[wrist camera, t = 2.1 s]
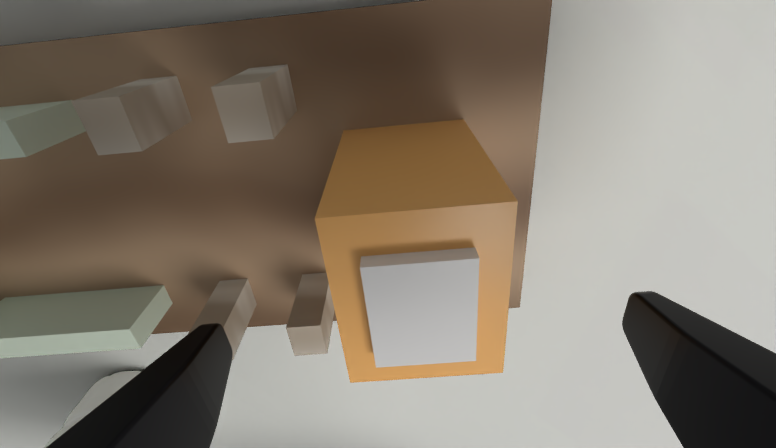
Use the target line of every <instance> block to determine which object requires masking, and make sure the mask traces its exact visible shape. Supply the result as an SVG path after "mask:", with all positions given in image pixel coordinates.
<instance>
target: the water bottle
mask: <svg viewBox="0 0 776 448" xmlns="http://www.w3.org/2000/svg"><path fill="white" fill-rule="evenodd" d="M140 372H141V371H123V372H118V373H115V374H113V375H111V376H105V377H103V378H101V379H100V380H98V381H97V382H96V383H95V384H94V385H93V386H92V387H91V388H90V389H89V390H88V392H87V393H86V394H85V396H84V397H83V398H82V400H81V401H80V402H79V404H78V405H77V406H76V407H75V408H74V409H73V410H72V412H71V413H70V414H69V416H68V417H67V419H66V421H65V423H64V425H63V427H62V429H61V430H60V431H59V432H57V433H56V434H55V435H54V436H53V437H52V439H51V440H50V441H49V442H48V443H47V445H46V446H45V447H44V448H46V447H47V446H48V445H50V444H51V443H52V442H53V441H55V440H56V439H57V438H58V437H60V436H61V435H62V434H63V433H65V432H66V431H67V430H68V429H70V428H71V427H72V426H74V425H75V424H76V423H77V422H79V421H80V420H81V419H82V418H84V417H85V416H86V415H87V414H89V413H90V412H91V411H92V410H94V409H95V408H96V407H97V406H99V405H100V404H101V403H102V402H104V401H105V400H106V399H108V398H109V397H110V396H111V395H113V394H114V393H115V392H116V391H118V390H119V389H120V388H121V387H123V386H124V385H125V384H126V383H128V382H129V381H130V380H131V379H133V378H134V377H135V376H136V375H138V374H139V373H140Z"/></svg>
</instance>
